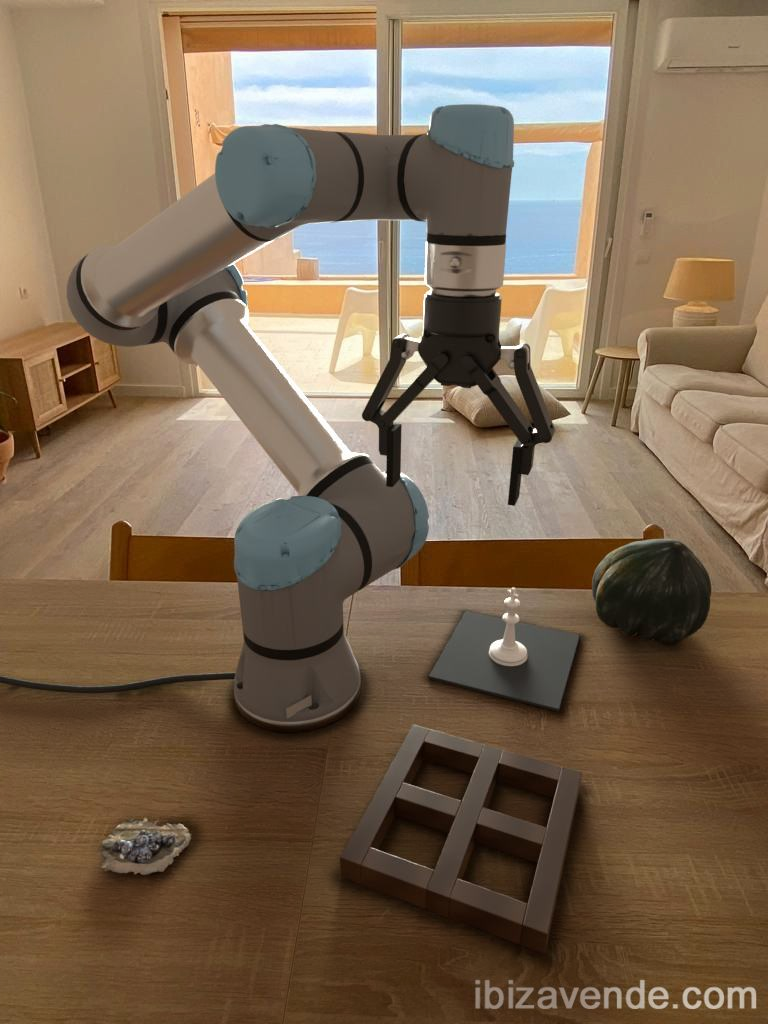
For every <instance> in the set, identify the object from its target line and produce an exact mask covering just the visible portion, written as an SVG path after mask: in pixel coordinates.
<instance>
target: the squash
mask: <svg viewBox="0 0 768 1024" xmlns="http://www.w3.org/2000/svg"><path fill="white" fill-rule="evenodd" d="M591 590H592V591H591V594H592V597H593V600H594V602H595V604H594V605H595V613H596V615H597V617H598V618H599V619H600V621H601V622H603V623H604V624H605V625H606V626H607V627H609V628H612V629H619V631H620V632H621V633H622V634H623V635H625V636H626V637H634V636H636V635H637V636H638V638H639V639H641V640H644V641H654V642H656V643H658V644H661V645H663V646H675V645H677V644H679V643H682V641H683V640H684V639H686V638H689V637H691V636H692V635H694V634H695V633H697V632H698V631H699V630H700V629H701V628H702V627H703V626H704V624H705V623H706V622H707V618H708V616H709V612H710V608H711V596H712V582H711V579H710V575H709V573H708V571H707V569H706V567H705V566H704V565H703V563H702V562H701V560H700V559H699V558H698V556H696V555H695V553H694V552H693V551H692V549H690V547H688V546H687V545H686V544H684V542H682V541H680V540H678V539H674V538H652V539H645V540H638V541H632V542H629V543H628V544H625V545H623V546H620V547H617V548H616V549H613V550H612V551H610V552H609V553H608V554H607V555H606V556H605V557H604V558H603V559H602V560H601V561H600V563H599V564H598V565H597V567H596V568H595V569H594V573H593V576H592V581H591Z"/></svg>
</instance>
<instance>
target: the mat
mask: <svg viewBox="0 0 768 1024" xmlns="http://www.w3.org/2000/svg"><path fill="white" fill-rule="evenodd" d="M506 624H507V622H505V621H504V620H503V619H502V618H501V617H496V616H493V615H487V614H483V613H477V612H474V611H469V610H465V611H464V614H463V615H462V617H461V619H460V621H459V622H458V624H457V626H456V627H455V629H454V631H453V633H452V635H451V636H450V638H449V640H448V642H447V643H446V645H445V647H444V649H443V651H441V652H442V653H441V654H440V655H439V658H438V659H437V661H436V663H435V664H434V666H433V668H432V670H431V672H430V674H429V675H428V679H429V680H432V681H433V680H434V681H437V682H441V683H445V684H449V685H453V686H456V687H460V688H465V689H468V690H471V691H472V690H473V691H475V692H480V693H485V694H488V695H492V696H496V697H499V698H504V699H508V700H512V701H514V702H519V703H524V704H528V705H531V706H536V707H539V708H542V709H547V710H551V711H555V712H560V708H561V705H562V701H563V698H564V694H565V691H566V687H567V684H568V681H569V676H570V673H571V669H572V666H573V662H574V659H575V656H576V653H577V648H578V644H579V641H580V636H581V635H580V634H576V633H571V632H567V631H561V630H557V629H552V628H548V627H543V626H539V625H534V624H530V623H529V624H528V623H525V622H520V621H519V622H517V623H515V640H516V641H517V642H519V643H521V644H522V645H523V646H524V647H525V648H526V650H527V660H526V661H525V662H524V663H523V664H521V665H517V666H504V665H501V664H498V663H496V662H495V661H493V660H492V659H491V658H490V656H489V650H490V646H491V645H492V644H493V643H494V642H496V641H498V640H503V638H504V633H505V629H506Z"/></svg>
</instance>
